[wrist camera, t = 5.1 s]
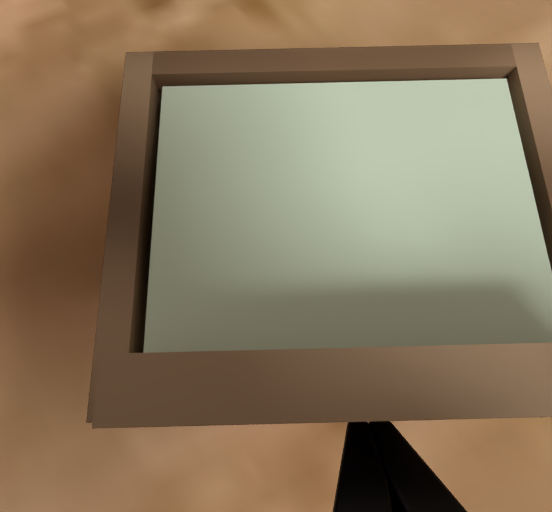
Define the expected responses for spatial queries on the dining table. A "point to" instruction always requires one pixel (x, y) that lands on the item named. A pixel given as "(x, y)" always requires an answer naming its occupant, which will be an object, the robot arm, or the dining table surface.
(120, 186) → the walnut box
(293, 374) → the lid
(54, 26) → the dining table surface
